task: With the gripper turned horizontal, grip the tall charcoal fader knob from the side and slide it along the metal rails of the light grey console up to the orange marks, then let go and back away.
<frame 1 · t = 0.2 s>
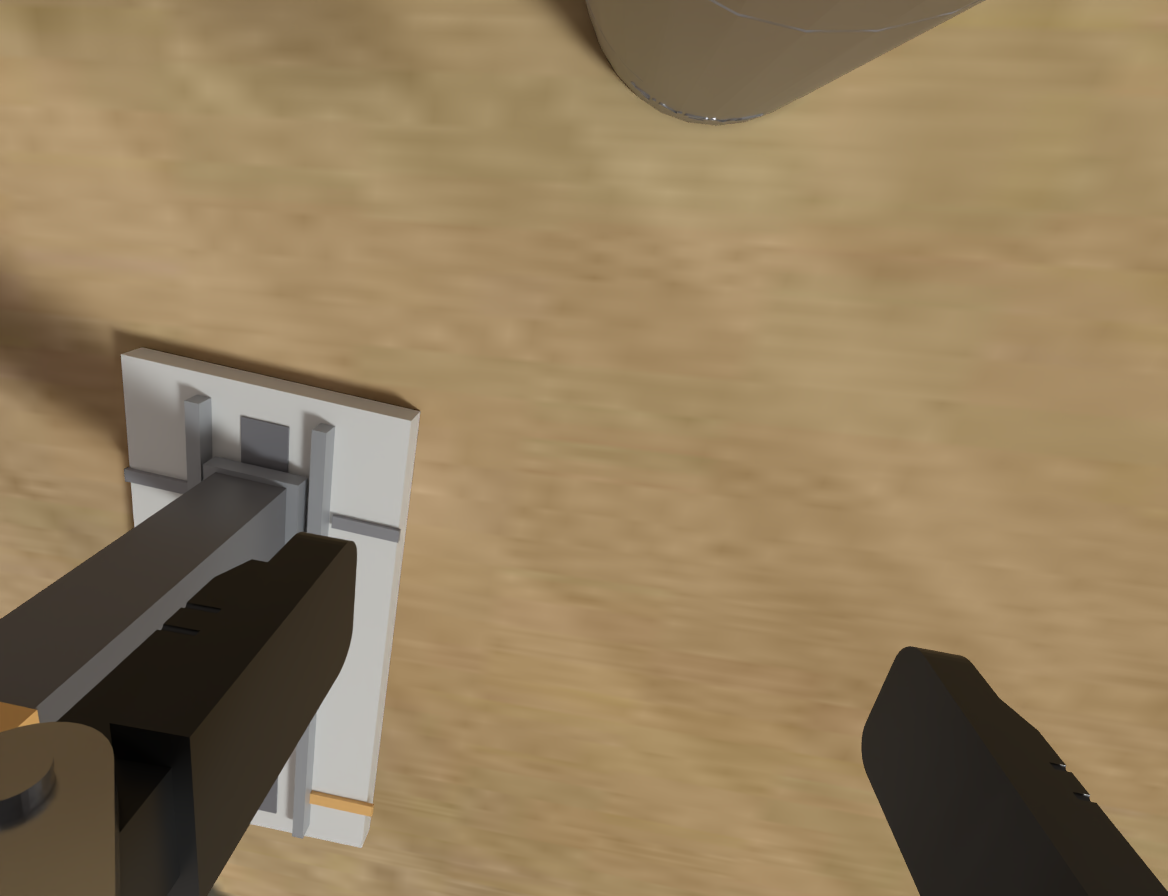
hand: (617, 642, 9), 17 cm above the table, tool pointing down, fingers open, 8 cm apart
fader: (144, 608, 21), point 9 cm above the table, slide at 0.0 cm
console: (275, 628, 32), on the table
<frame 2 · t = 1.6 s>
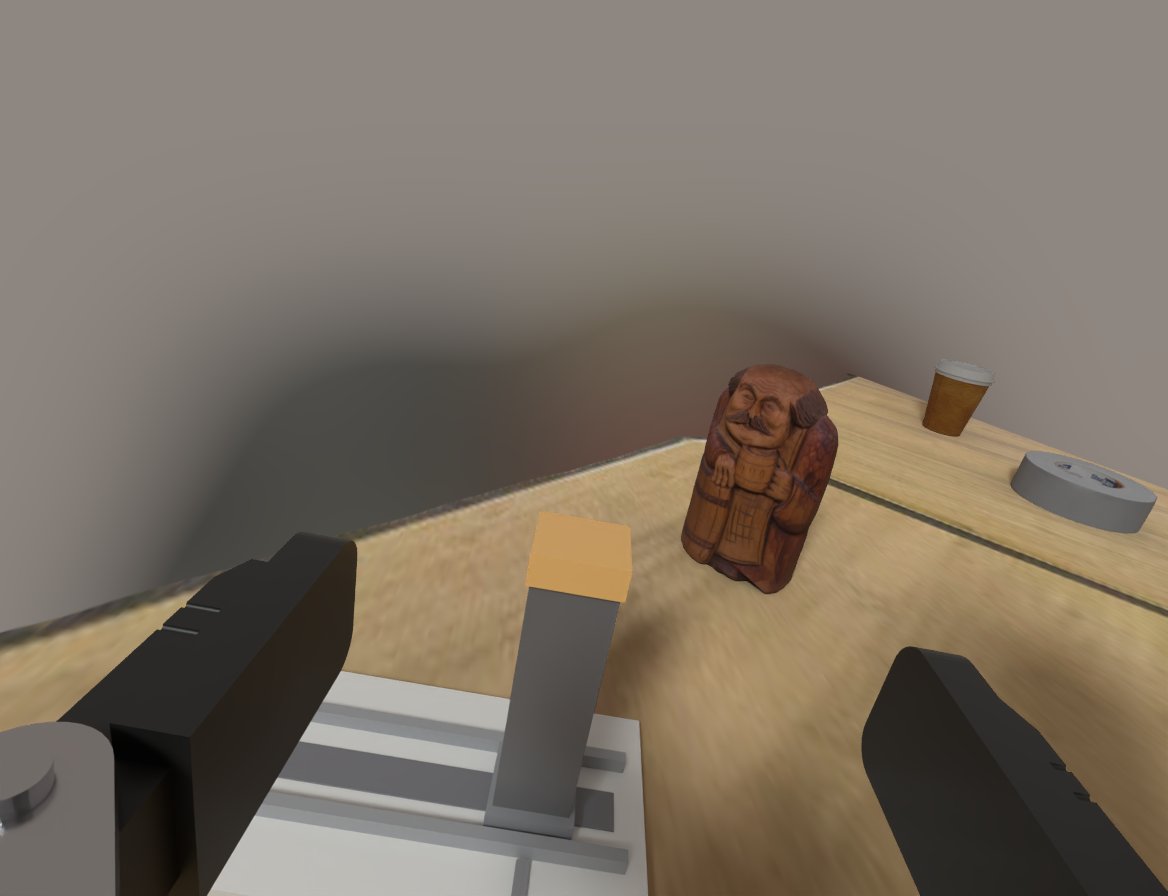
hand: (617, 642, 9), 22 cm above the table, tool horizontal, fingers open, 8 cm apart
fader: (555, 679, 27), point 9 cm above the table, slide at 0.0 cm
tape roll: (1071, 507, 88), on the table
wooden figurine: (728, 562, 57), on the table
console: (364, 790, 30), on the table
disposable coffee cup: (940, 430, 114), on the table
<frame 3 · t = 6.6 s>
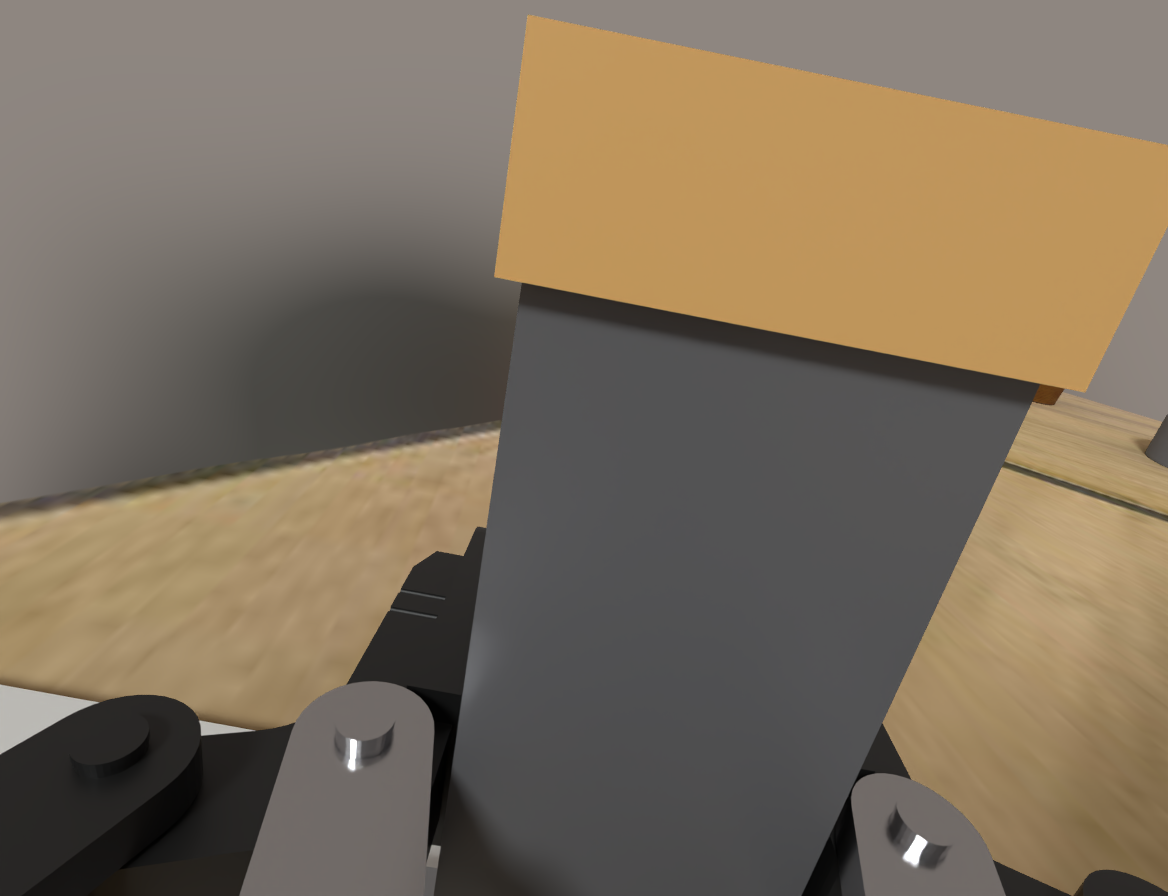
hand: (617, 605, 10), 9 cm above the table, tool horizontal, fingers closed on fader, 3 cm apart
fader: (613, 770, 8), point 9 cm above the table, slide at 0.0 cm, touching gripper
disposable coffee cup: (1029, 399, 94), on the table
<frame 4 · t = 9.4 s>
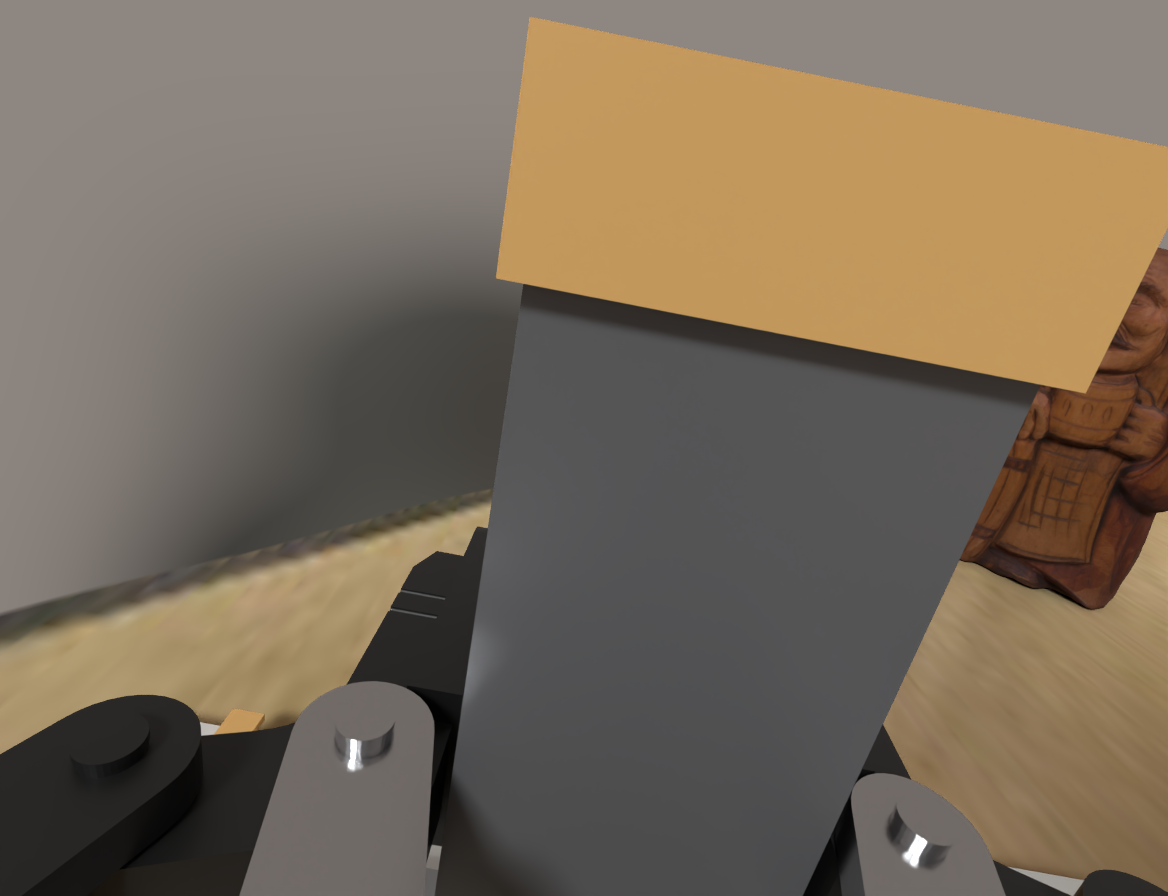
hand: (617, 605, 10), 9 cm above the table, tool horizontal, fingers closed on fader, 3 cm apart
fader: (614, 771, 8), point 9 cm above the table, slide at 10.0 cm, touching gripper
wooden figurine: (995, 560, 37), on the table
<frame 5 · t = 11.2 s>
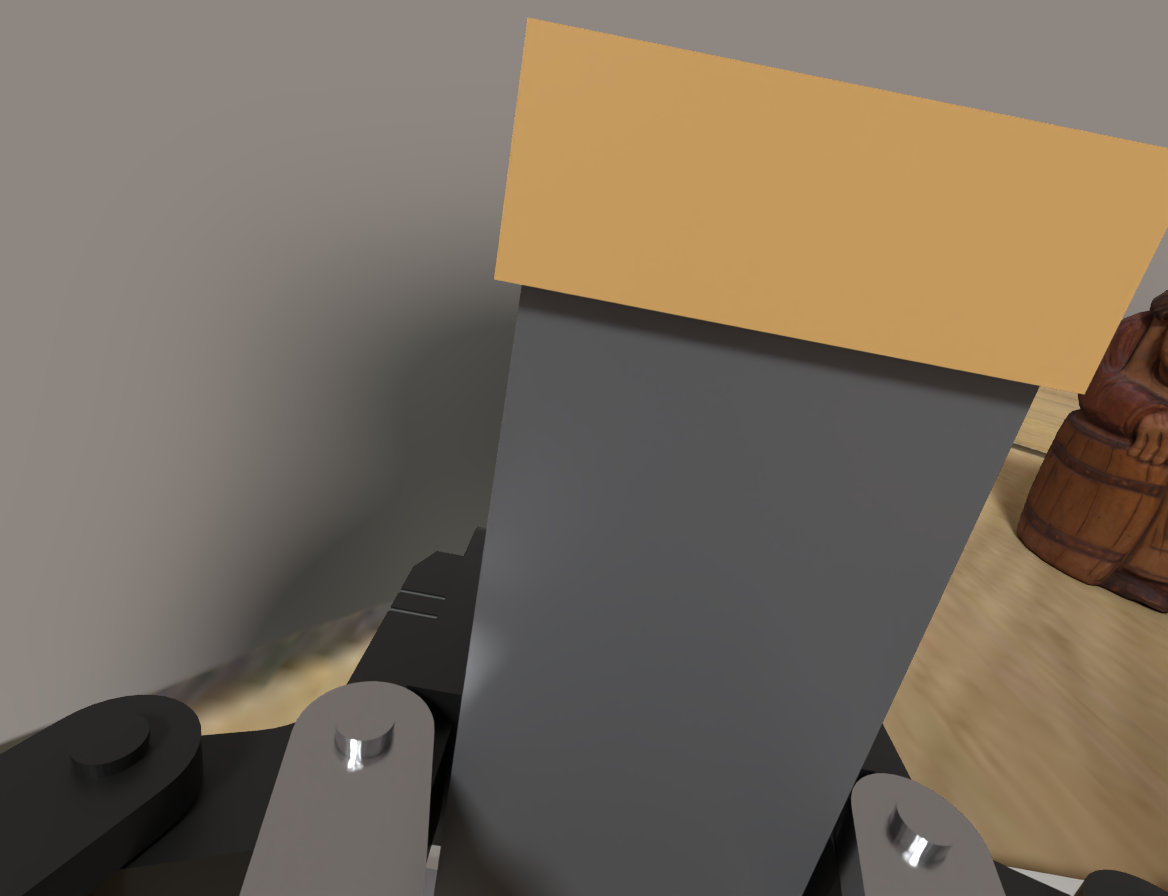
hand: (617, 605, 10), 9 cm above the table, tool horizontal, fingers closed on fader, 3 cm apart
fader: (613, 771, 8), point 9 cm above the table, slide at 17.3 cm, touching gripper
wooden figurine: (1115, 582, 38), on the table
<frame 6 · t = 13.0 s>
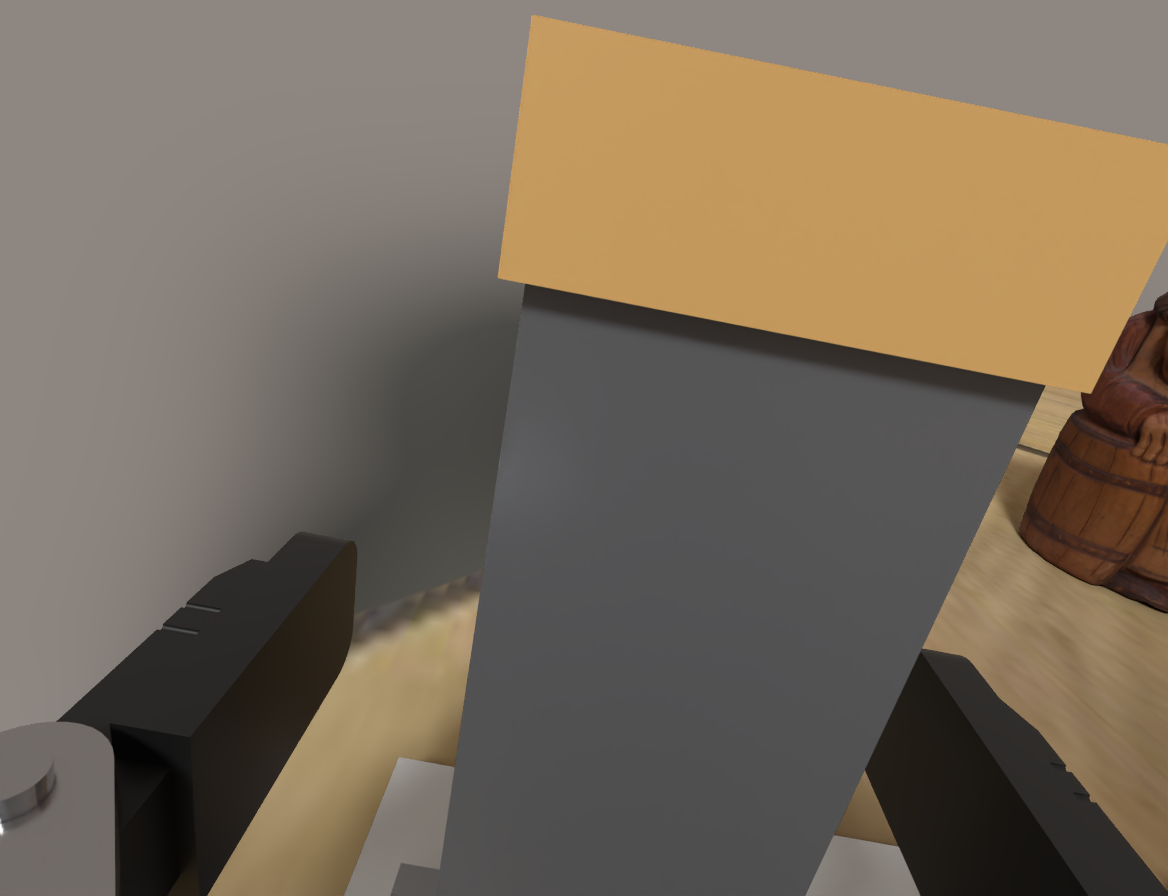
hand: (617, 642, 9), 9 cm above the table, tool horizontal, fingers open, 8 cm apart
fader: (615, 771, 8), point 9 cm above the table, slide at 17.4 cm
wooden figurine: (1118, 582, 37), on the table
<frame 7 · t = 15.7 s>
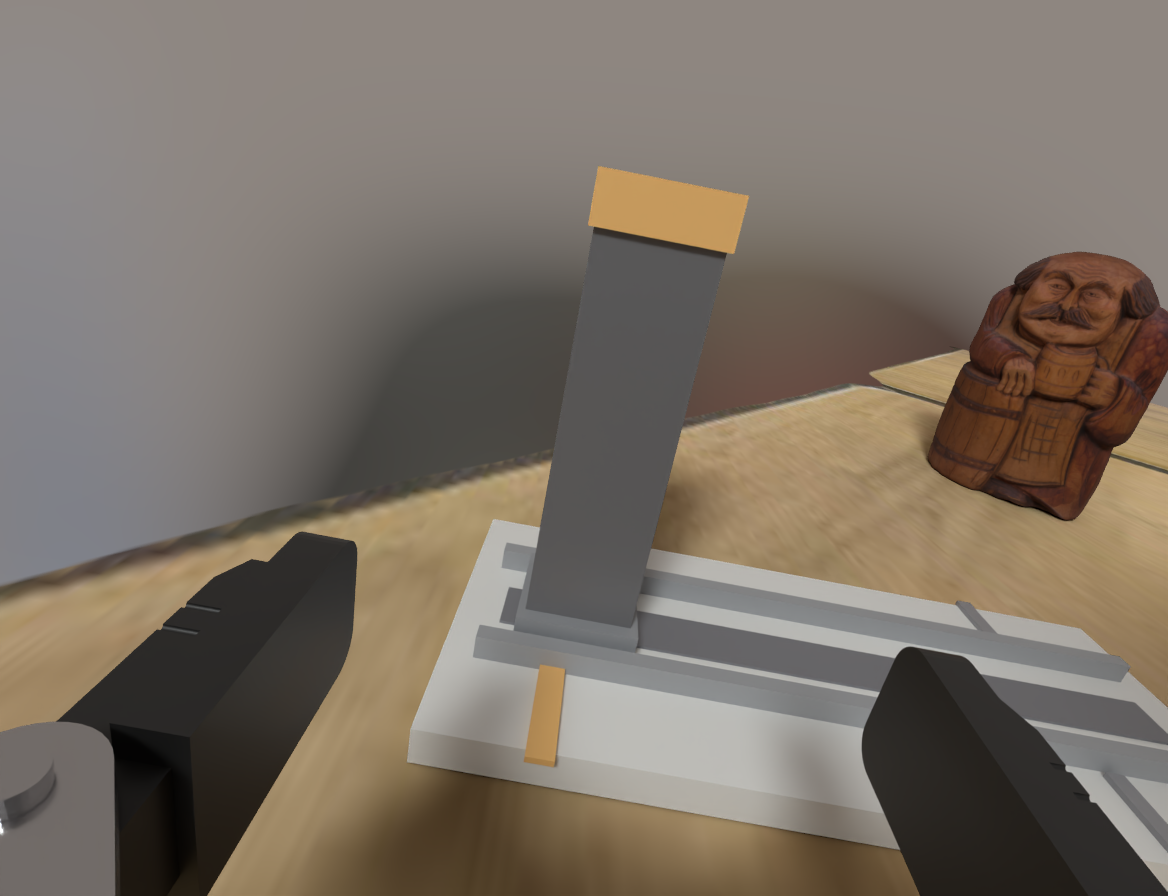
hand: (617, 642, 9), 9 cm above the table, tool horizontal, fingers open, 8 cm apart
fader: (616, 425, 20), point 9 cm above the table, slide at 17.4 cm
wooden figurine: (995, 490, 50), on the table
console: (822, 691, 23), on the table
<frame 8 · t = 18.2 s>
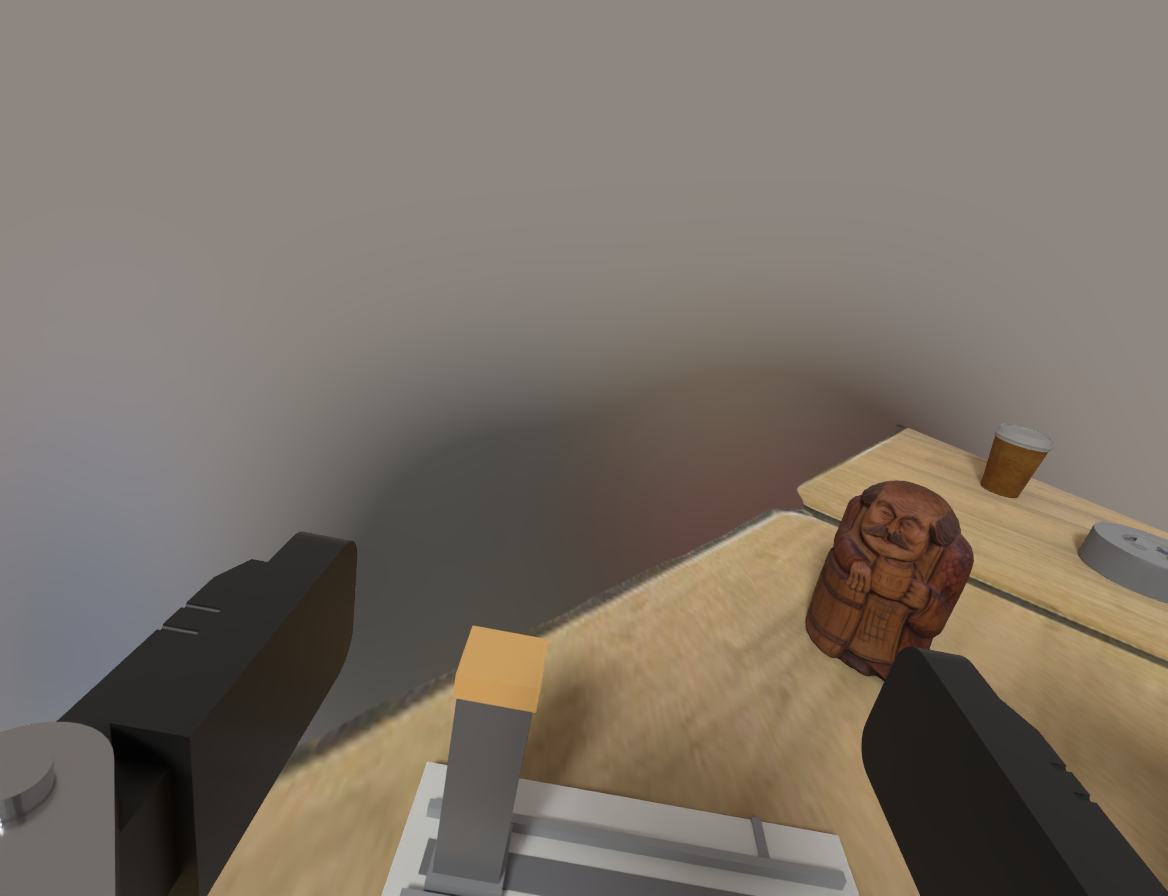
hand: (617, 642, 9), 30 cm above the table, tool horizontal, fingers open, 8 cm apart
fader: (485, 766, 32), point 9 cm above the table, slide at 17.4 cm
tape roll: (1137, 578, 93), on the table
wooden figurine: (853, 654, 62), on the table
disposable coffee cup: (998, 491, 119), on the table
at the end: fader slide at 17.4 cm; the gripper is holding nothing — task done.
